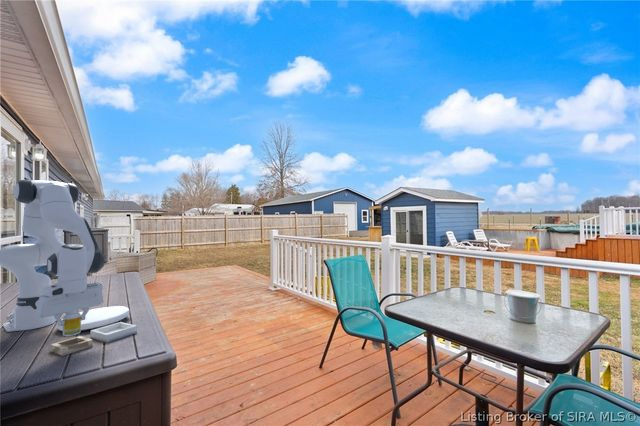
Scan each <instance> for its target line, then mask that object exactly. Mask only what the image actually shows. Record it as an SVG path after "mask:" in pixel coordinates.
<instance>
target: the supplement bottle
mask: <svg viewBox="0 0 640 426" xmlns="http://www.w3.org/2000/svg"><path fill="white" fill-rule="evenodd" d="M79 311H80V310H78V309H75V310H71V311H70V312H67V313H64V315H63V317H62V319H63V320H65V322H64V323H65V324H64V325H63V331H62V336H63V337H72V336H76V335H78V334H80V333H81V331H82V330H81V314H80V313H79Z"/></svg>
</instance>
